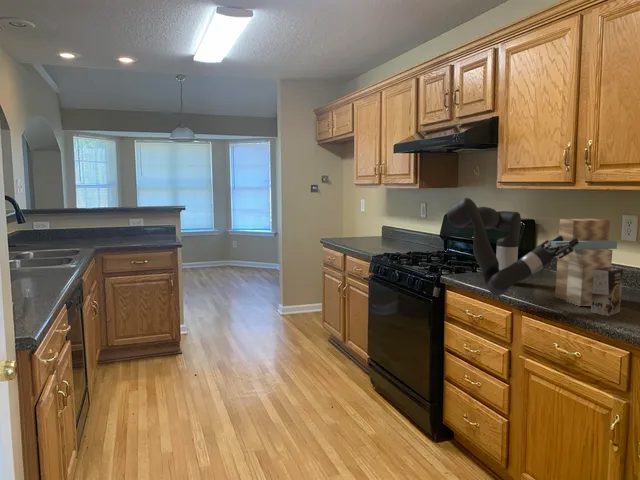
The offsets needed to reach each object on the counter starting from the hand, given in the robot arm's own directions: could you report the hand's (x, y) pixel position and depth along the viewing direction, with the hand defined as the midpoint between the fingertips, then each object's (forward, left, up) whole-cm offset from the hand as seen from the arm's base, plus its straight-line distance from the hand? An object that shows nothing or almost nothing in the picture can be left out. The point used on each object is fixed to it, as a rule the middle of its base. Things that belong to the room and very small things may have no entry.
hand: (569, 239), depth 185 cm
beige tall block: (+7, +6, -25) cm, 27 cm away
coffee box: (+13, -5, -26) cm, 29 cm away
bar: (+5, +4, -4) cm, 7 cm away
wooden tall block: (+4, +14, -25) cm, 29 cm away
